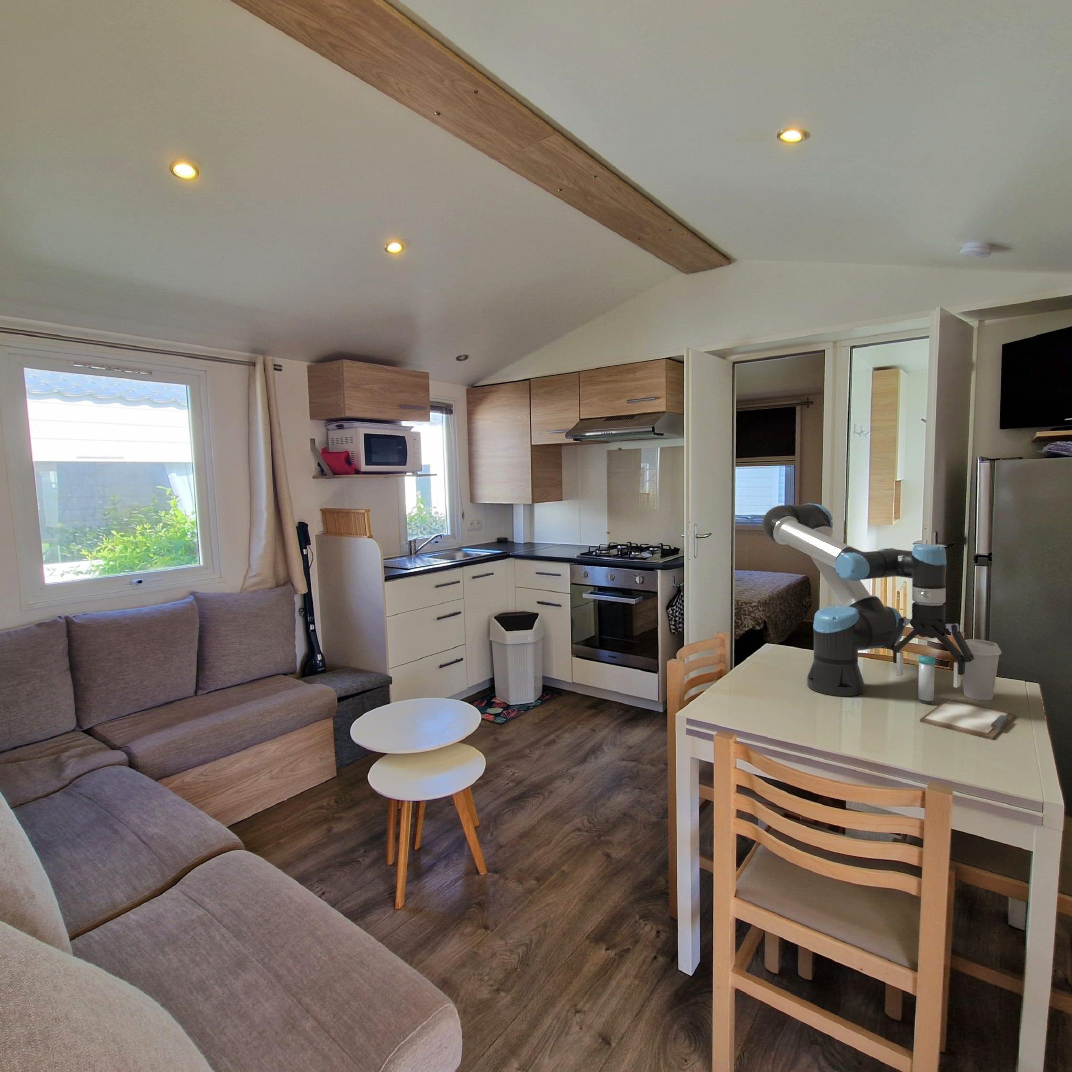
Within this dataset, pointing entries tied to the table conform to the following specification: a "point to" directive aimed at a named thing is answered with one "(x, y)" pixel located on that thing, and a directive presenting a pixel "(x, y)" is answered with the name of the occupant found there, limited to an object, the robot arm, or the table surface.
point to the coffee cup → (981, 669)
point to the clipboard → (968, 718)
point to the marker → (926, 679)
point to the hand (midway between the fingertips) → (927, 680)
